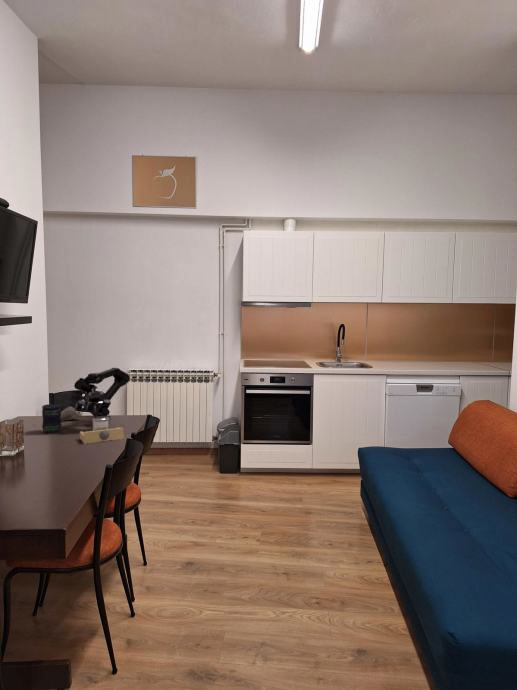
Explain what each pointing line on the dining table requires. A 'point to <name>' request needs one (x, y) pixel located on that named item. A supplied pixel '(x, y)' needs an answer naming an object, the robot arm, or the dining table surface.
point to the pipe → (70, 414)
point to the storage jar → (51, 418)
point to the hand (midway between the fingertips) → (95, 417)
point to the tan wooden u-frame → (102, 435)
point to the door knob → (100, 423)
